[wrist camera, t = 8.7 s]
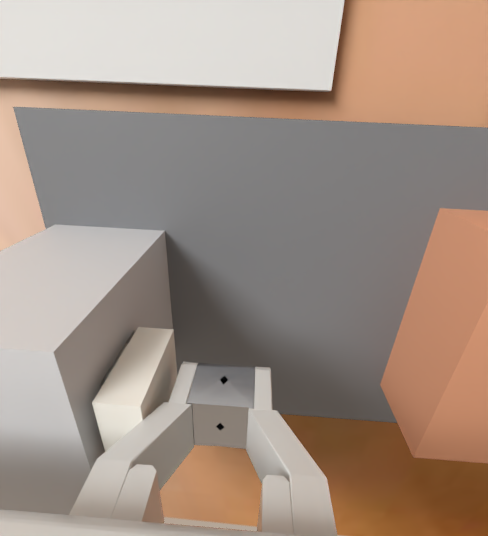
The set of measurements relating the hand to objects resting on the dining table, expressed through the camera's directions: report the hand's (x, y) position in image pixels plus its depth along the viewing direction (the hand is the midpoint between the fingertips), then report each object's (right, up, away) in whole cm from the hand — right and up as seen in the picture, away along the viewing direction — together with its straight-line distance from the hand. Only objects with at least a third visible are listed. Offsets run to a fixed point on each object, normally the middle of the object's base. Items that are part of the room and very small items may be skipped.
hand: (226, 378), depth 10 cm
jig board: (+5, +2, +5) cm, 8 cm away
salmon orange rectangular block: (+10, +2, +4) cm, 11 cm away
